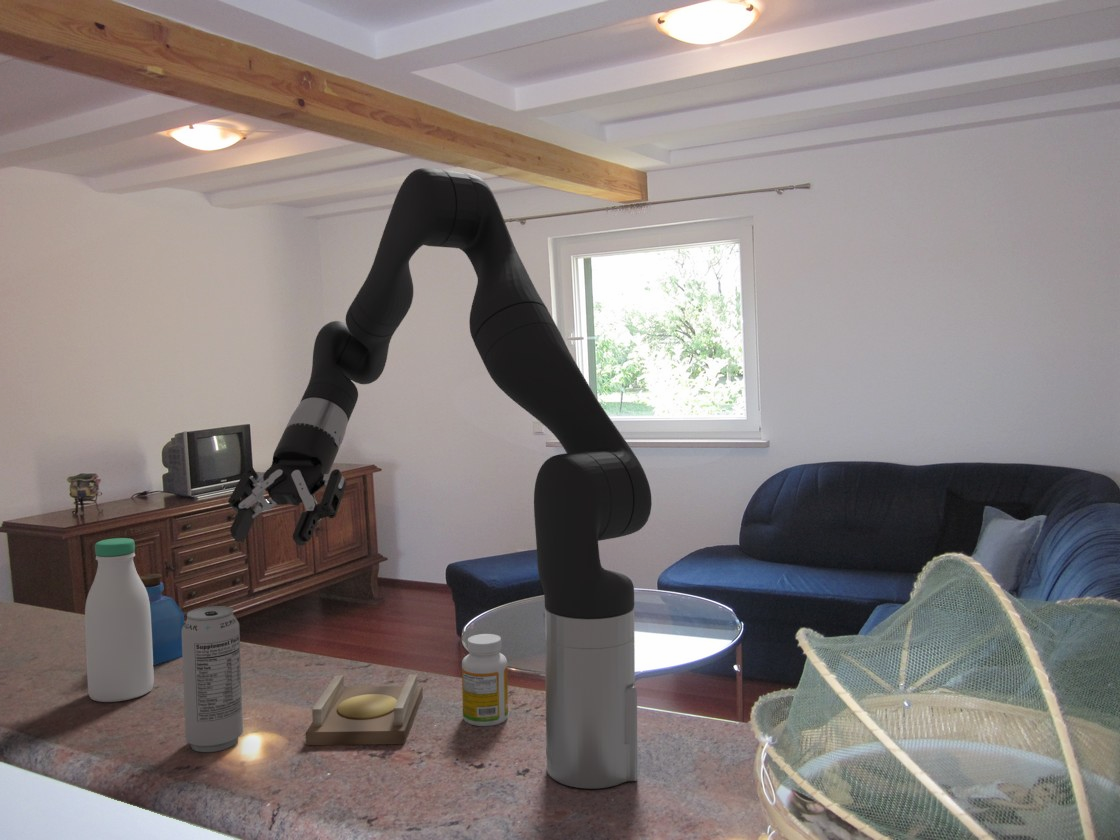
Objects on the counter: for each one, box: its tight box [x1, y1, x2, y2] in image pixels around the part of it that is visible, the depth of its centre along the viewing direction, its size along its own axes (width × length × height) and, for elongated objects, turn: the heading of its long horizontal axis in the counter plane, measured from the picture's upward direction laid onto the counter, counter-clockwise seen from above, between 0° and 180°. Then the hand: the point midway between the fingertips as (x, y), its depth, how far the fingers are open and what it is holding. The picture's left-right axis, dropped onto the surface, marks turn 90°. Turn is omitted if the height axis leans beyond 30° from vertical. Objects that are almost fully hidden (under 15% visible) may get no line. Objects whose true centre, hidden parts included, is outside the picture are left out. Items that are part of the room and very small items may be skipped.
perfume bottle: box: [139, 573, 185, 666], centre depth 132 cm, size 6×6×12 cm
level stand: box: [305, 673, 424, 746], centre depth 109 cm, size 11×14×4 cm
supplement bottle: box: [461, 633, 509, 727], centre depth 109 cm, size 5×5×10 cm
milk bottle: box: [84, 537, 155, 703], centre depth 118 cm, size 8×8×20 cm
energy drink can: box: [181, 605, 244, 753], centre depth 102 cm, size 6×6×15 cm
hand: (267, 540), depth 113 cm, fingers open, 8 cm apart
